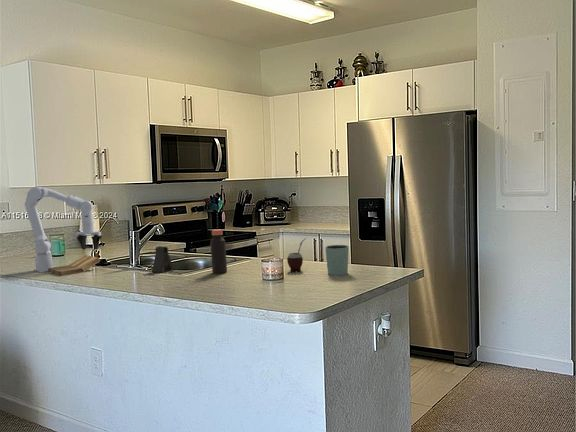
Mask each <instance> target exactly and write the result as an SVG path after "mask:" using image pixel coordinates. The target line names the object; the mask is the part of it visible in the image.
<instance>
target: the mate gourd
mask: <svg viewBox="0 0 576 432" xmlns="http://www.w3.org/2000/svg"><path fill="white" fill-rule="evenodd" d="M306 239H307V237H305V238H304V239H303V240H301V241H300V243H299V248H298V251H297V252H292V253H291V252H290V253H289V254H288V255H287V265H288V267H289V268H290V273H294V272H299V273H300V272H302V269H301V268H302V265H303V261H304V259H303V255H302V254H301V253H300V250H301V247H302V245H303V242H305V240H306Z"/></svg>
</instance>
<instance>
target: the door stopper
mask: <svg viewBox="0 0 576 432" xmlns="http://www.w3.org/2000/svg"><path fill="white" fill-rule="evenodd" d="M154 249H155V255H154V260H153V264H152V269H151V272H152V273H156V274H157V273H158V274H161V273H165V272H166V273H167V272H171V271H175V268H174V265H173V263H172V259H171V257H170V255H169V248H168V247H167V246H160V245H159V246H156V247H155V248H154Z"/></svg>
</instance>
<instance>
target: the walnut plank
mask: <svg viewBox="0 0 576 432" xmlns="http://www.w3.org/2000/svg"><path fill="white" fill-rule="evenodd" d="M68 265H69V264H67V265H61V266H60V265H59V266H56V267H55V266H53V268H48V271H47V272H48V273H50V274H54V275H58V276H60V277H63V276H68V275H74V274H80V273H81V272H83V271H82V269H81V268H77V267H72V266H68Z"/></svg>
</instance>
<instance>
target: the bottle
mask: <svg viewBox="0 0 576 432" xmlns="http://www.w3.org/2000/svg"><path fill="white" fill-rule="evenodd" d="M223 234H224V233H223V229H219V228H217V229H212V230H211V235H212V239H210V257H211V270H212V271H211V272H212V274H216V275H218V274H220V275H221V274H226V273H227V272H228V266H227V250H226V247H227V246H226V240H225V239H224V237H223Z"/></svg>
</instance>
